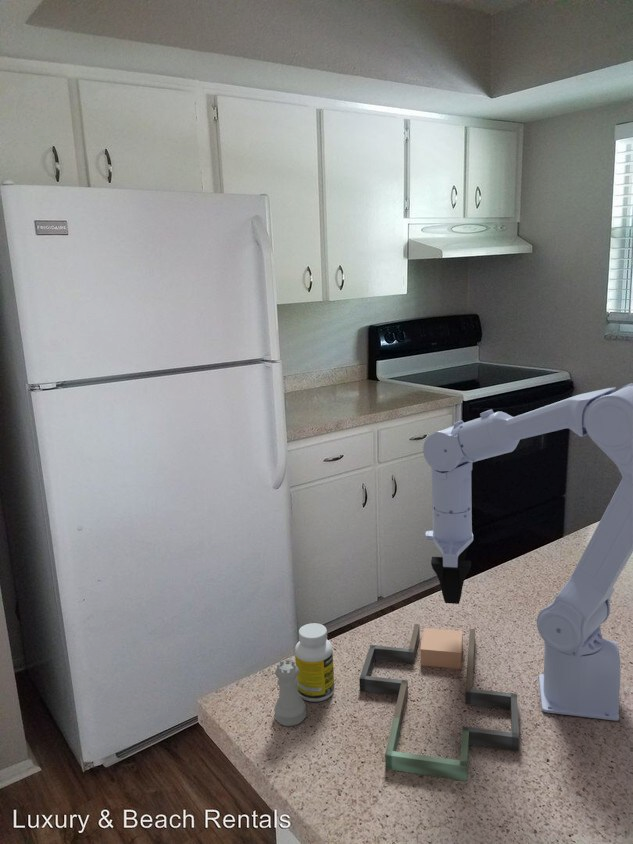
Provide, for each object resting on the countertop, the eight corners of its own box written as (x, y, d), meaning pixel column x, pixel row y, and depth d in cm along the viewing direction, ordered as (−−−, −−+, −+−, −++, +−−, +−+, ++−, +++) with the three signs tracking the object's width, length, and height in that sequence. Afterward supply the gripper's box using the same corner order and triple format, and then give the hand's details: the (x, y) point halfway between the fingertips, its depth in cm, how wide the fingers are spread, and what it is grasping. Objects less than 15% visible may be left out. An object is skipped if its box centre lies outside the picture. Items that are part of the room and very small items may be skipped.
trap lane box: (514, 644, 102) (514, 632, 102) (520, 789, 74) (520, 774, 74) (378, 631, 108) (378, 620, 107) (337, 761, 80) (336, 747, 80)
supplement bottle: (331, 704, 90) (327, 642, 88) (293, 701, 92) (288, 639, 89) (337, 680, 96) (334, 621, 93) (302, 678, 97) (297, 619, 94)
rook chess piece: (282, 732, 86) (278, 679, 84) (269, 713, 90) (264, 662, 88) (312, 720, 88) (308, 668, 86) (298, 702, 91) (294, 651, 90)
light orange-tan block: (462, 648, 102) (462, 631, 102) (461, 670, 97) (461, 652, 96) (424, 644, 104) (424, 627, 103) (420, 666, 98) (420, 649, 98)
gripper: (428, 489, 104) (430, 567, 107) (420, 524, 90) (422, 612, 93) (473, 490, 102) (474, 569, 105) (472, 526, 89) (472, 615, 92)
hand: (453, 590), depth 99 cm, fingers open, 7 cm apart
